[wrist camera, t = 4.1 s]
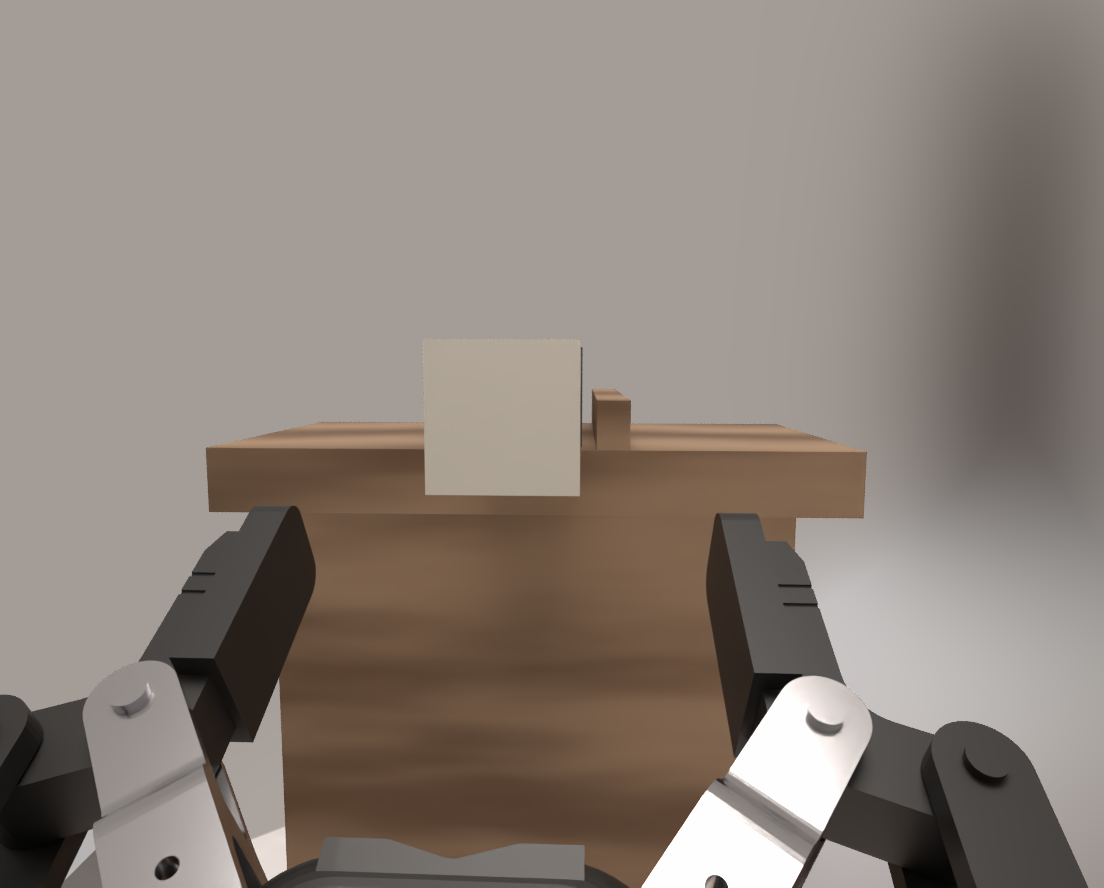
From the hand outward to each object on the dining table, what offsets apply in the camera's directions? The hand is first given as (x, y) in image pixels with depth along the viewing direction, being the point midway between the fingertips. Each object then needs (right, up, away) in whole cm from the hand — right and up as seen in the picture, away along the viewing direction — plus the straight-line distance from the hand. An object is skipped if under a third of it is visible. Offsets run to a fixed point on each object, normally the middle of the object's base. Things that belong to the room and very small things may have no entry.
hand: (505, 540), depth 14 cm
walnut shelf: (0, -30, +16) cm, 34 cm away
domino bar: (0, +2, +9) cm, 9 cm away
